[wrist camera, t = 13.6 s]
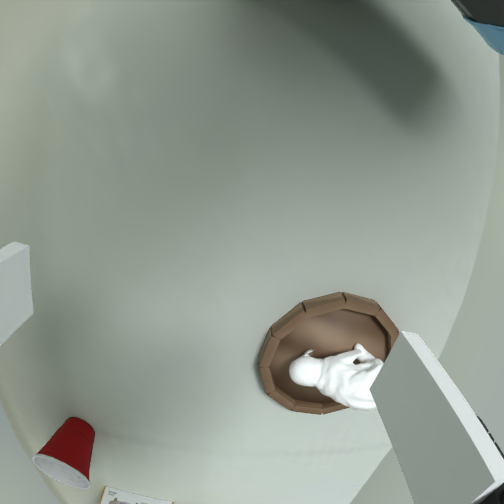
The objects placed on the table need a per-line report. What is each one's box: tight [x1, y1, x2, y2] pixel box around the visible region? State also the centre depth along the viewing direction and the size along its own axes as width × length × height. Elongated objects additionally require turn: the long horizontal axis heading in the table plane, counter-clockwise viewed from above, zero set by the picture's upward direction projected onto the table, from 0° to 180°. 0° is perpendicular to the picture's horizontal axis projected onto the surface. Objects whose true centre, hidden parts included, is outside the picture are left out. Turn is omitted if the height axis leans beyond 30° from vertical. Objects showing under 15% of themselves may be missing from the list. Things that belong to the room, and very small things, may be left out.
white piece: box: [289, 343, 384, 410], centre depth 35 cm, size 6×8×12 cm
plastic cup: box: [32, 417, 95, 490], centre depth 39 cm, size 11×11×12 cm
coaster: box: [259, 292, 399, 415], centre depth 39 cm, size 18×18×2 cm
